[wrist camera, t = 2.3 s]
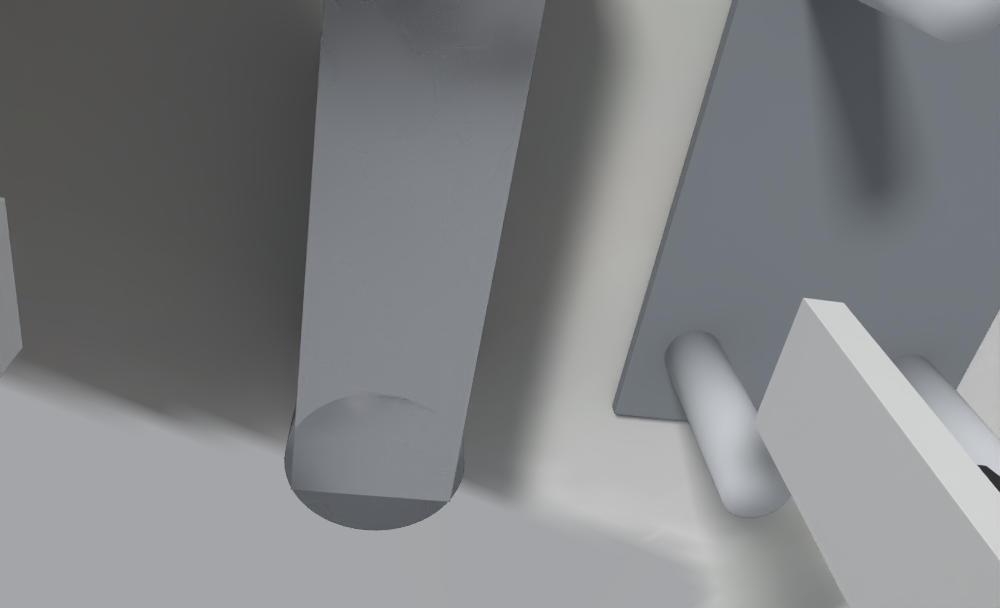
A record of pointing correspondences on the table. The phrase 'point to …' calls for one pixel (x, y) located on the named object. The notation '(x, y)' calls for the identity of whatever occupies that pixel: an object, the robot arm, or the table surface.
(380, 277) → the grey long block
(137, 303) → the table surface
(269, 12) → the table surface
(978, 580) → the robot arm
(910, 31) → the rack
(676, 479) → the table surface
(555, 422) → the table surface
